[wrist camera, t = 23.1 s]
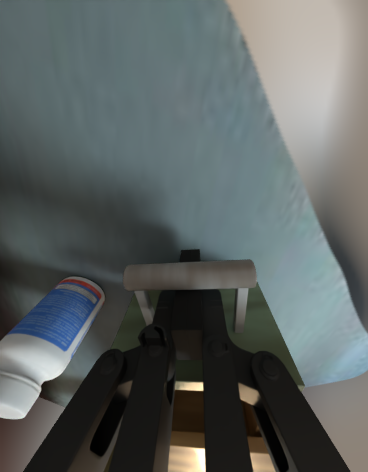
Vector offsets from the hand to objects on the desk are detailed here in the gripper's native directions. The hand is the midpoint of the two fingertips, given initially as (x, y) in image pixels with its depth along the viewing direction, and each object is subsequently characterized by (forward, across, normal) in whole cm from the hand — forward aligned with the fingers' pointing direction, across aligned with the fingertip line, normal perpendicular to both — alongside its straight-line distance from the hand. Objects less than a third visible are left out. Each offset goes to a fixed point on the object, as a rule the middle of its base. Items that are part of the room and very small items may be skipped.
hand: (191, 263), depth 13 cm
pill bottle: (+2, -13, -5) cm, 14 cm away
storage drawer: (+1, 0, -7) cm, 7 cm away
